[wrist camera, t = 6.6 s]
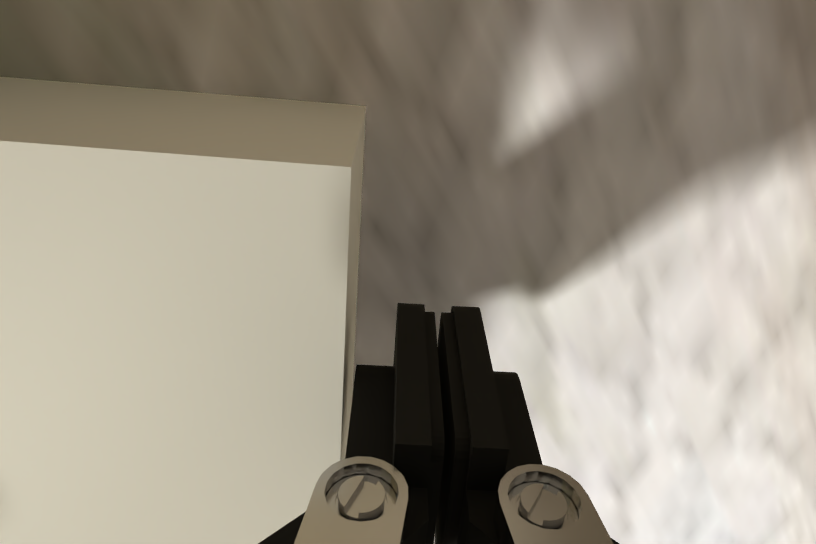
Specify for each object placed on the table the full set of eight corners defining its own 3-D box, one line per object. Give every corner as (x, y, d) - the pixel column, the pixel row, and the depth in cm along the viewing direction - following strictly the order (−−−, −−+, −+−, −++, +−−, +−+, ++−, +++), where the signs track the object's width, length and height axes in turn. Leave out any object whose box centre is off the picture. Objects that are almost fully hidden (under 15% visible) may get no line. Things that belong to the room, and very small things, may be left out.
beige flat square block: (-141, 64, 12) (-369, 113, 8) (366, 104, 12) (351, 167, 9) (-15, 442, 17) (-128, 575, 13) (349, 462, 17) (335, 596, 14)
